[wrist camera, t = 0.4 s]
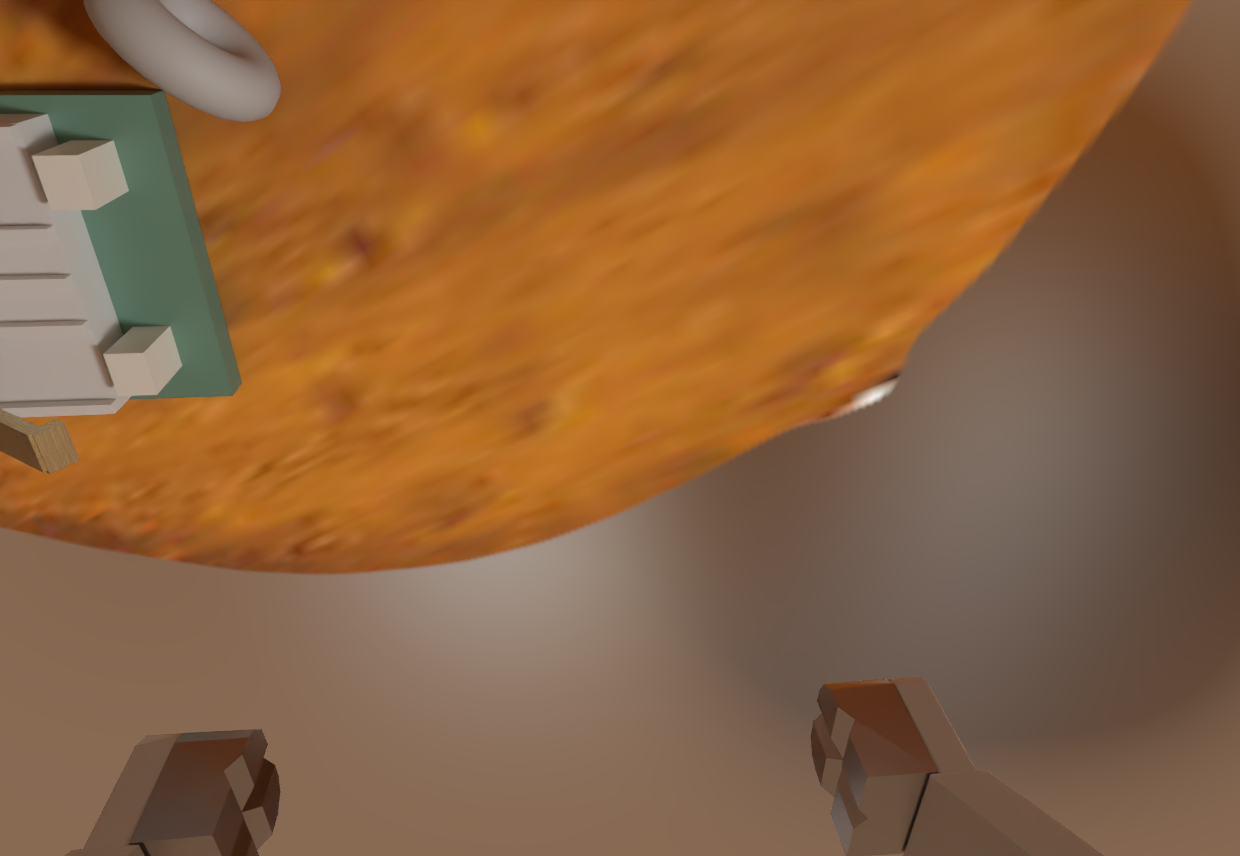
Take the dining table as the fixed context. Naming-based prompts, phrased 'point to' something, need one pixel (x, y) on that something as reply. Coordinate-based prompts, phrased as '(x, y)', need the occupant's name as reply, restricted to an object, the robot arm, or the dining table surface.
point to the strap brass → (37, 443)
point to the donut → (191, 54)
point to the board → (102, 258)
